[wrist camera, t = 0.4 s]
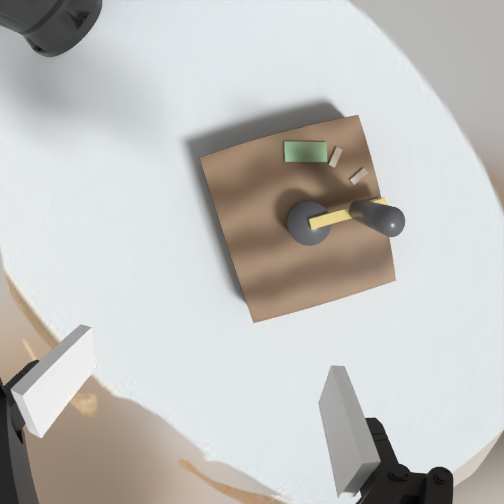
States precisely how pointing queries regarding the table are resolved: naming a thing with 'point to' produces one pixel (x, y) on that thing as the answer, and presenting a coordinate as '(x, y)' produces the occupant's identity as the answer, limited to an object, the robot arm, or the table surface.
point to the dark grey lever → (342, 219)
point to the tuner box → (279, 204)
